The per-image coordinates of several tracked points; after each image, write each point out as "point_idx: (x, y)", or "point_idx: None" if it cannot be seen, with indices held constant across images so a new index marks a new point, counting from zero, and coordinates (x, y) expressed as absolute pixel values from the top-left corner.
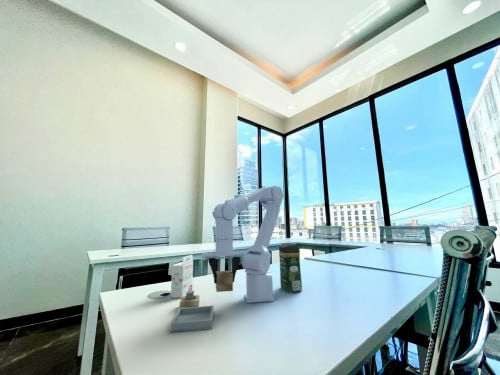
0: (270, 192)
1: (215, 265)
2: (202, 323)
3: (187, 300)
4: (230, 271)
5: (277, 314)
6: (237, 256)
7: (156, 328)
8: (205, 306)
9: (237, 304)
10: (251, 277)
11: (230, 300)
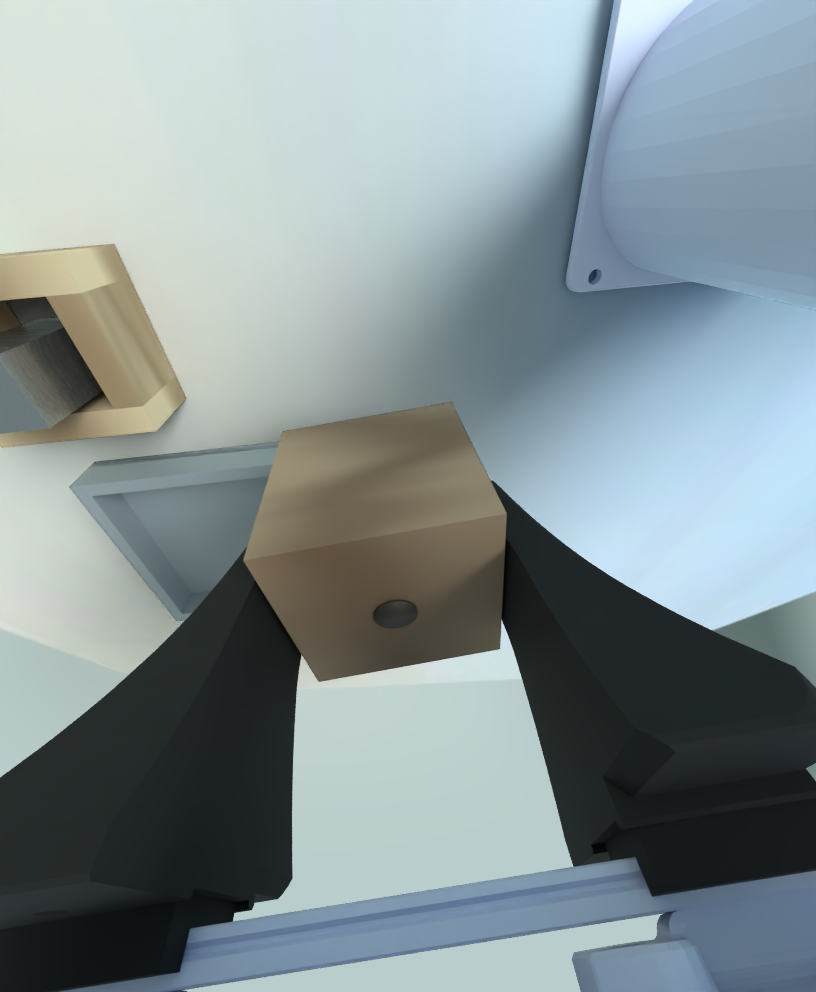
0: None
1: (278, 813)
2: None
3: (54, 427)
4: (489, 557)
5: (654, 478)
6: (755, 897)
7: (93, 571)
8: (254, 470)
9: (479, 300)
10: (807, 294)
11: (423, 160)
